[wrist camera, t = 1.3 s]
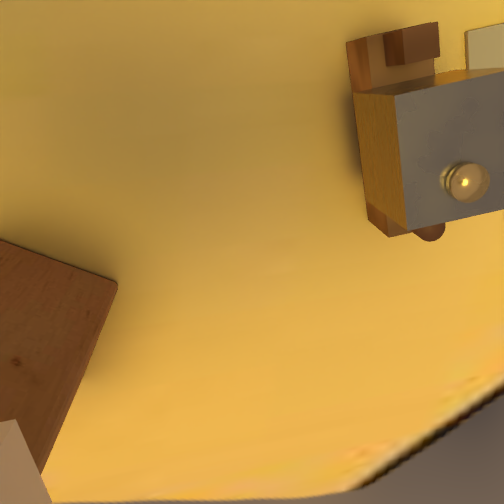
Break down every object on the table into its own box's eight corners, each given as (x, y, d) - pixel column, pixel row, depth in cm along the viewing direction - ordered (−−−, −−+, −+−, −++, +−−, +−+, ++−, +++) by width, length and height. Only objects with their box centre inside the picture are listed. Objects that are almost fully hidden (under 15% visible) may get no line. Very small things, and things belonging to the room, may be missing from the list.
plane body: (345, 42, 32) (383, 31, 25) (402, 30, 32) (455, 15, 25) (368, 219, 37) (405, 252, 30) (417, 208, 37) (466, 238, 30)
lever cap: (352, 92, 29) (399, 95, 22) (454, 70, 29) (533, 65, 22) (366, 200, 32) (412, 234, 24) (459, 179, 32) (532, 206, 25)
